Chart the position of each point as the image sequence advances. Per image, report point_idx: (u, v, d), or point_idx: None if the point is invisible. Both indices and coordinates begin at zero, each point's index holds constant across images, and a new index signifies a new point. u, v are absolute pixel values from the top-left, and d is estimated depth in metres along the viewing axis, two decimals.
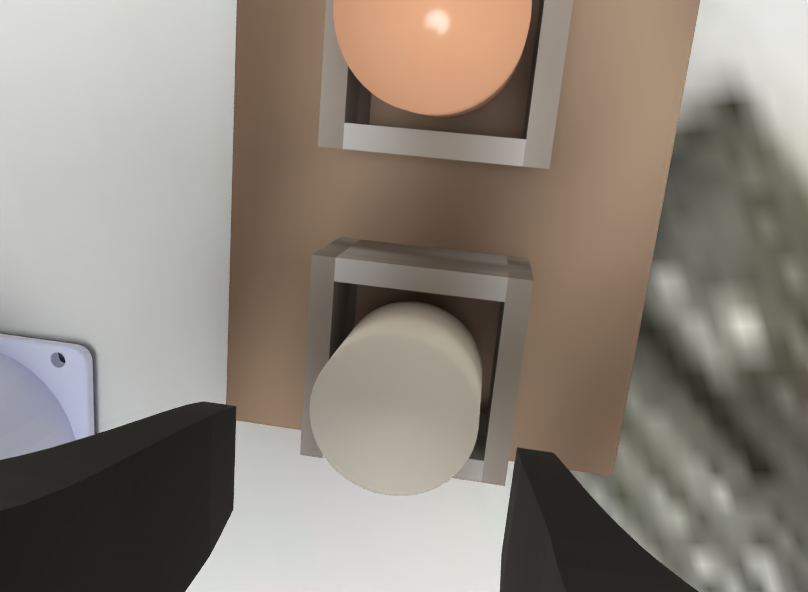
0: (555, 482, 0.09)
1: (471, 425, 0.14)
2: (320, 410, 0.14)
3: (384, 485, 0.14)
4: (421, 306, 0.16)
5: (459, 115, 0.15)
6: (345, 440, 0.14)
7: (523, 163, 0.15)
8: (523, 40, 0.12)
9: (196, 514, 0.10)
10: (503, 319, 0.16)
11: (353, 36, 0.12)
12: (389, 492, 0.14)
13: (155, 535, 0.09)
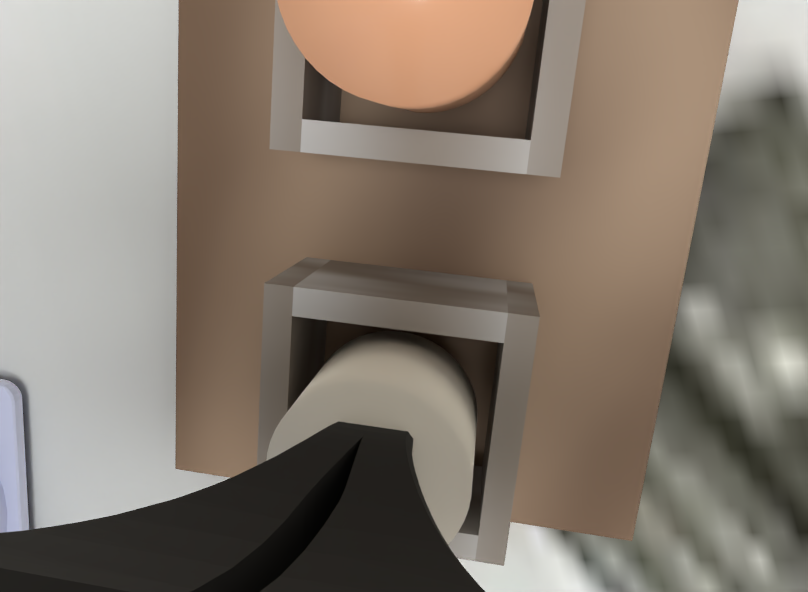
0: (382, 456, 0.09)
1: (462, 490, 0.11)
2: None
3: None
4: (404, 338, 0.13)
5: (446, 109, 0.12)
6: None
7: (527, 170, 0.12)
8: (529, 5, 0.09)
9: None
10: (502, 364, 0.13)
11: (300, 1, 0.09)
12: None
13: None
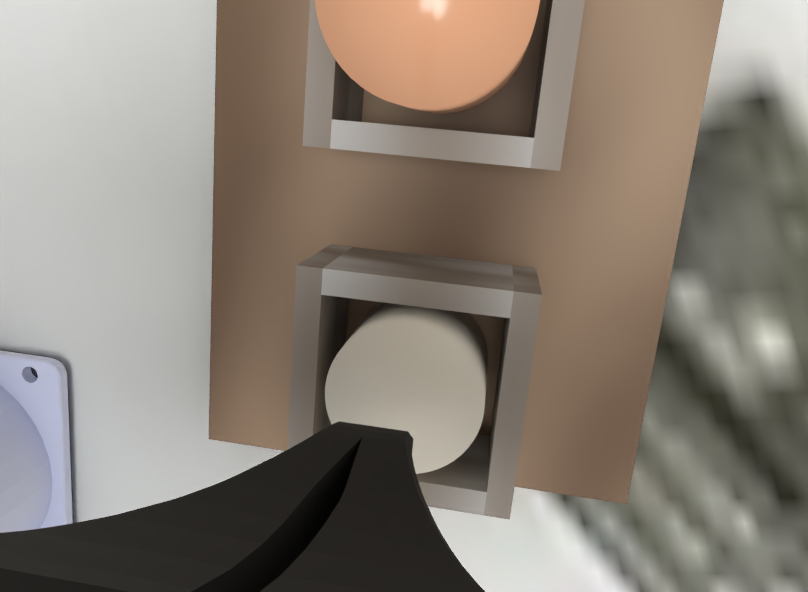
0: (382, 456, 0.09)
1: (477, 407, 0.15)
2: (335, 393, 0.15)
3: None
4: None
5: (459, 111, 0.13)
6: (358, 421, 0.15)
7: (531, 164, 0.14)
8: (532, 23, 0.10)
9: None
10: (508, 337, 0.14)
11: (337, 19, 0.11)
12: None
13: None
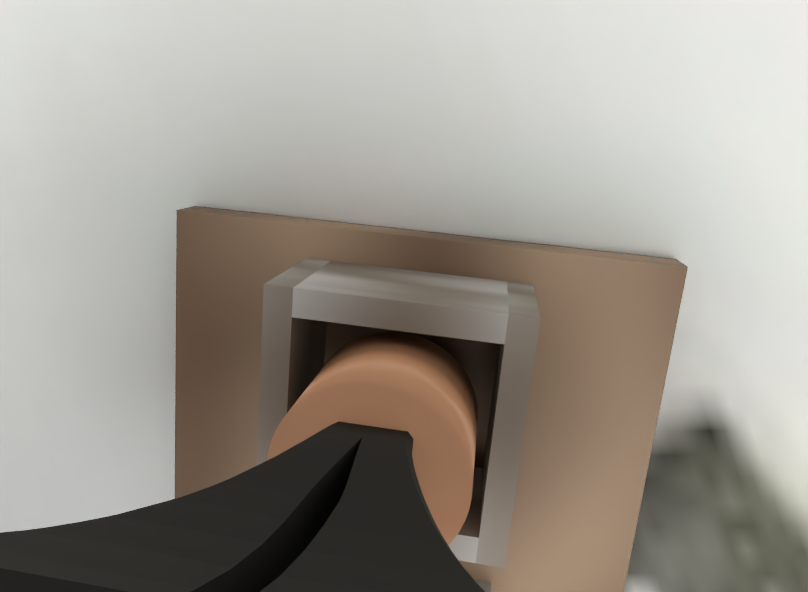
0: (382, 456, 0.09)
1: None
2: None
3: None
4: None
5: None
6: None
7: (476, 559, 0.14)
8: (464, 516, 0.11)
9: None
10: None
11: None
12: None
13: None
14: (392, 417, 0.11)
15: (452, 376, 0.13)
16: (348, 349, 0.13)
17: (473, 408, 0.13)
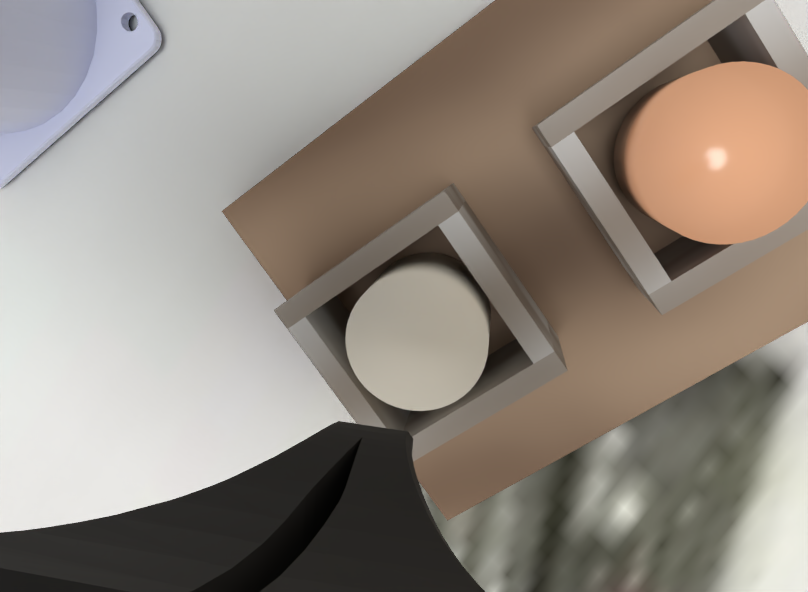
0: (382, 456, 0.09)
1: (456, 394, 0.17)
2: (377, 294, 0.16)
3: (364, 374, 0.17)
4: None
5: (641, 212, 0.16)
6: (372, 326, 0.17)
7: (651, 293, 0.16)
8: (755, 237, 0.14)
9: None
10: (518, 372, 0.17)
11: (668, 114, 0.13)
12: (361, 380, 0.17)
13: None
14: (797, 132, 0.13)
15: None
16: None
17: None
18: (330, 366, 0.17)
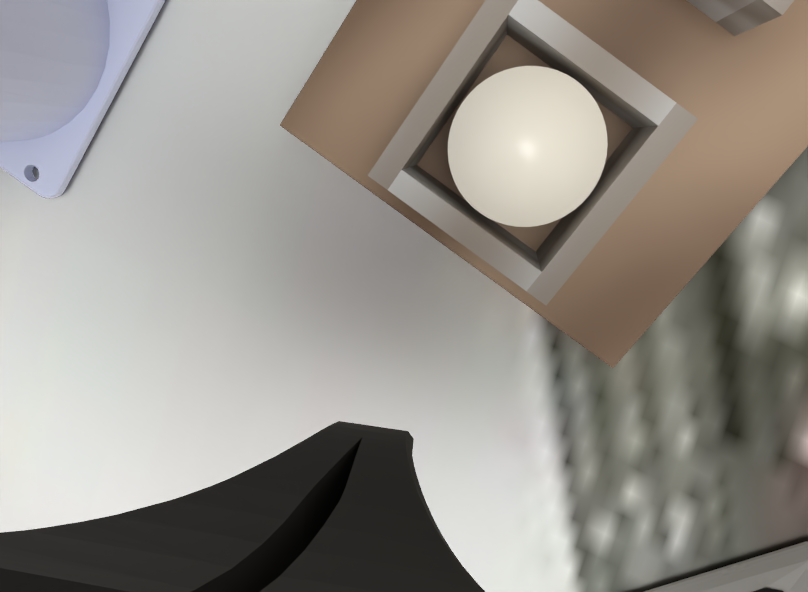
0: (382, 456, 0.09)
1: (586, 187, 0.15)
2: (469, 110, 0.15)
3: (482, 203, 0.16)
4: None
5: None
6: (474, 148, 0.15)
7: None
8: None
9: None
10: (645, 142, 0.15)
11: None
12: (481, 213, 0.16)
13: None
14: None
15: None
16: None
17: None
18: (444, 213, 0.16)
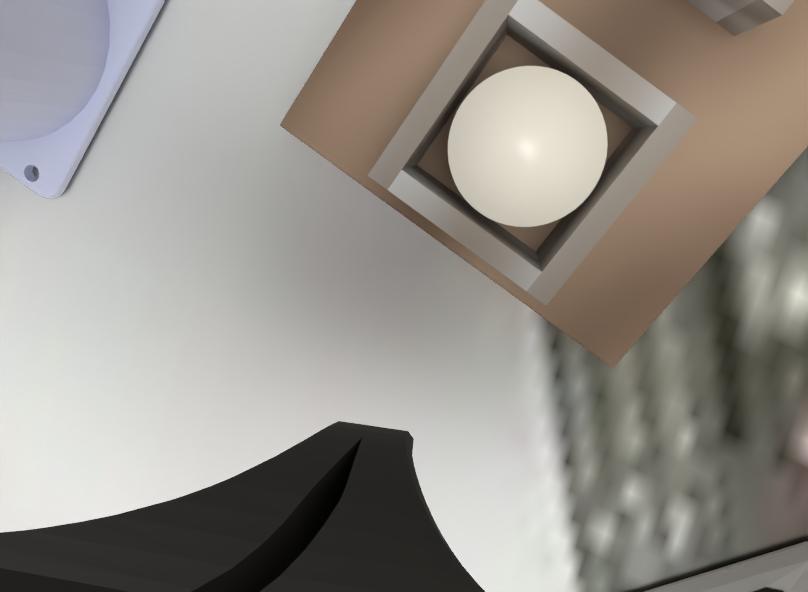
0: (382, 456, 0.09)
1: (586, 187, 0.15)
2: (469, 110, 0.15)
3: (482, 203, 0.16)
4: None
5: None
6: (474, 148, 0.15)
7: None
8: None
9: None
10: (645, 142, 0.15)
11: None
12: (481, 213, 0.16)
13: None
14: None
15: None
16: None
17: None
18: (444, 213, 0.16)
